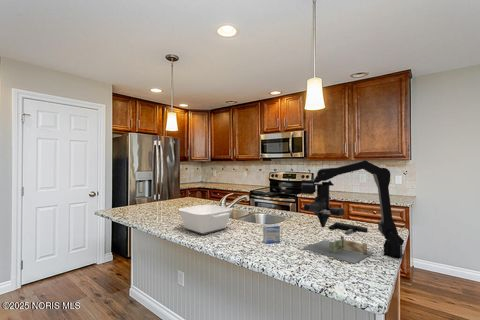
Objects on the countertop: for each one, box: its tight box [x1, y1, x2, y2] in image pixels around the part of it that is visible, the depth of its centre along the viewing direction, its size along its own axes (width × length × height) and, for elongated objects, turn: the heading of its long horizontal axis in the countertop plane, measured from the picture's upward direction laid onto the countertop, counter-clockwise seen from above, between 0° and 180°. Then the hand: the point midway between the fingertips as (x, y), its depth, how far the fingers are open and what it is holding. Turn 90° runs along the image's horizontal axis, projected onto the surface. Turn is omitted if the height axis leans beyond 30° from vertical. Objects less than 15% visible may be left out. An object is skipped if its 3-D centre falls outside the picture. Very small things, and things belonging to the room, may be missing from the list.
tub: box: [177, 204, 233, 236], centre depth 158 cm, size 34×27×13 cm
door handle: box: [328, 221, 369, 235], centre depth 156 cm, size 3×20×16 cm
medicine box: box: [262, 224, 281, 245], centre depth 134 cm, size 8×4×9 cm, turn 105°
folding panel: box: [329, 238, 342, 253], centre depth 120 cm, size 10×2×4 cm, turn 132°
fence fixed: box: [340, 235, 368, 255], centre depth 120 cm, size 12×2×6 cm, turn 41°
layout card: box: [303, 239, 374, 265], centre depth 121 cm, size 25×19×1 cm
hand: (322, 227), depth 123 cm, fingers closed
